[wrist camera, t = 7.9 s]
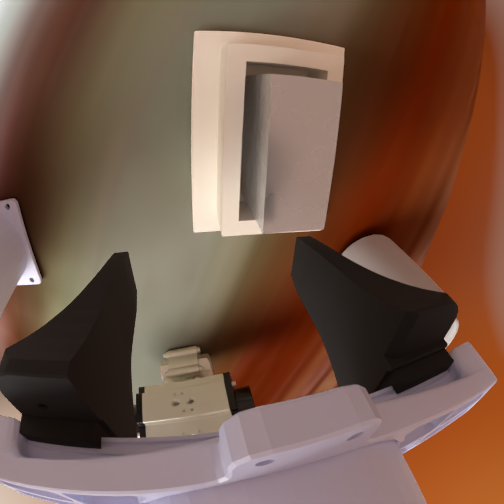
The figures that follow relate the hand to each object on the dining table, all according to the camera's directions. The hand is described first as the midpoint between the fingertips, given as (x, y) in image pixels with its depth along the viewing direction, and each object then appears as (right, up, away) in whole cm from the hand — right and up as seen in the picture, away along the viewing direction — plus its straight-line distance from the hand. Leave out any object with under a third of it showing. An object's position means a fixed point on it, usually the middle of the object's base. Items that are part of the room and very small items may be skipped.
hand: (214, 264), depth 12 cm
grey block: (+3, +8, +6) cm, 11 cm away
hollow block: (+2, +9, +7) cm, 11 cm away
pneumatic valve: (-6, -10, +17) cm, 21 cm away
